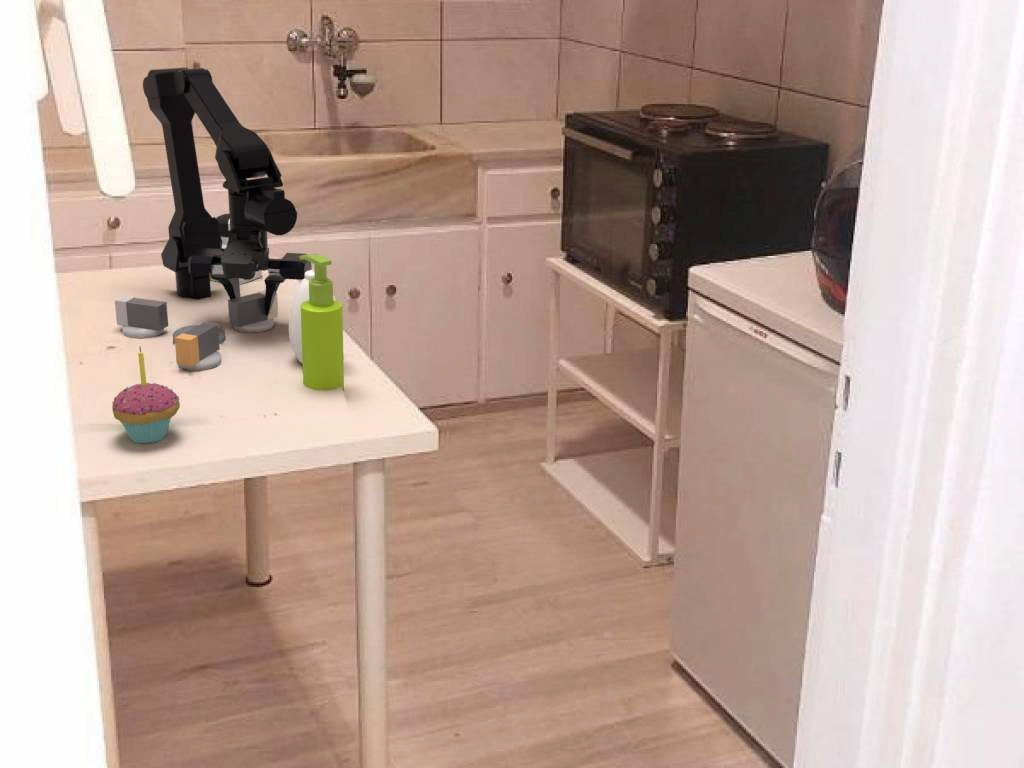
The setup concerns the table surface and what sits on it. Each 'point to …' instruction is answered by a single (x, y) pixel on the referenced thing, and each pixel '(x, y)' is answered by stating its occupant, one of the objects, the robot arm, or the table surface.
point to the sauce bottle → (299, 313)
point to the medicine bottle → (224, 232)
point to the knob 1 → (198, 347)
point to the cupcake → (145, 408)
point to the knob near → (141, 316)
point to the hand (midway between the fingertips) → (252, 314)
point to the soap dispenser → (322, 331)
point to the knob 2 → (252, 313)
